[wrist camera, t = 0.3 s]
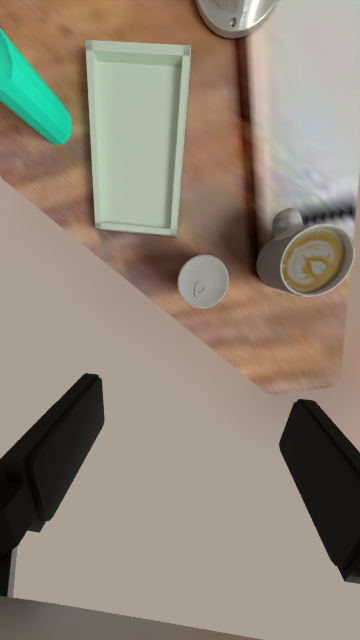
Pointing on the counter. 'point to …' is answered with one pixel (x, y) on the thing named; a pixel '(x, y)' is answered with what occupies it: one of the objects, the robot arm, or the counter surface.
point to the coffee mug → (305, 256)
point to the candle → (31, 95)
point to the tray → (137, 133)
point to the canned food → (203, 281)
